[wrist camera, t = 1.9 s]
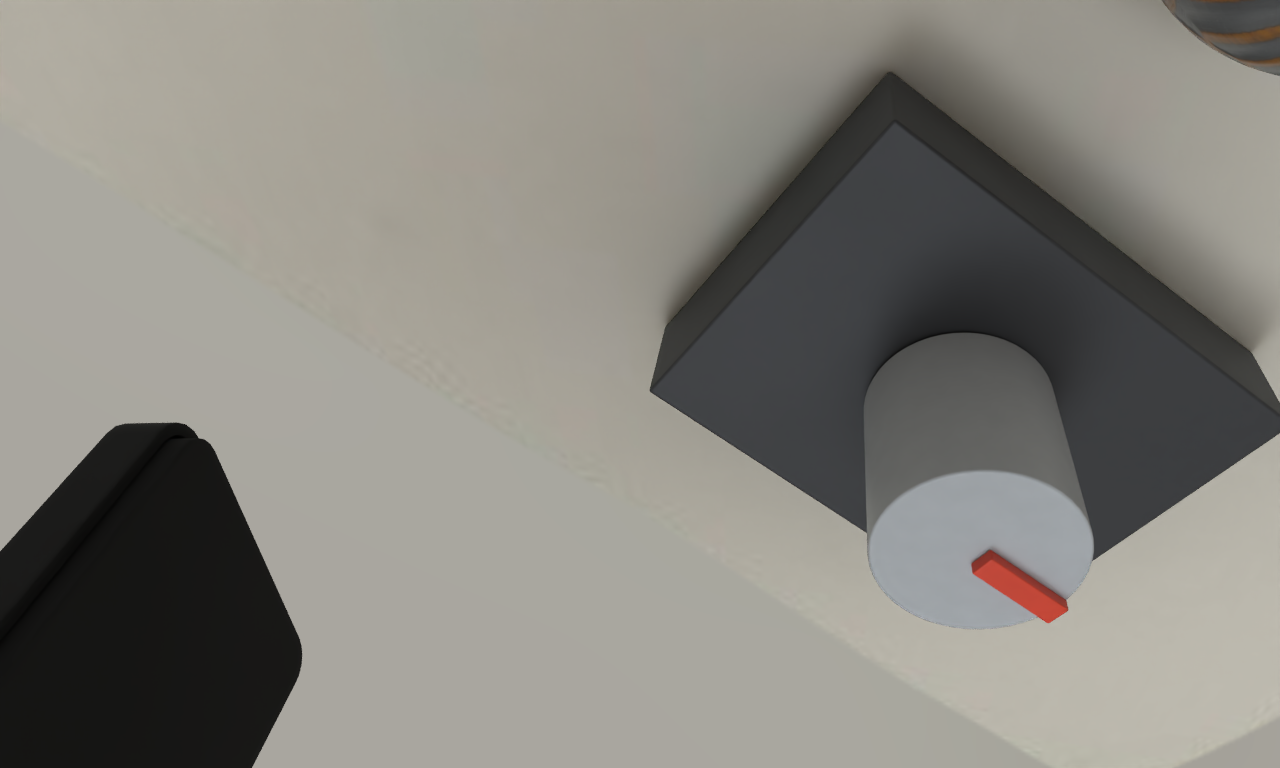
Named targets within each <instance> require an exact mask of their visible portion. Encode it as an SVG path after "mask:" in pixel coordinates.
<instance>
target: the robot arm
mask: <svg viewBox="0 0 1280 768" xmlns="http://www.w3.org/2000/svg"><path fill="white" fill-rule="evenodd" d="M301 664H302V648H301V643H300V639H299V637H298V634H297V632H296V630H295V628H294V626H293V624H292V621H291V619H290V617H289V615H288V612H287V610H286V608H285V606H284V603H283V602H282V599H281V597H280V594H279V592H278V590H277V588H276V586H275V584H274V581H273V579H272V577H271V575H270V572H269V570H268V568H267V566H266V564H265V561H264V559H263V557H262V555H261V553H260V550H259V548H258V546H257V544H256V541H255V540H254V537H253V535H252V533H251V530H250V528H249V526H248V524H247V522H246V519H245V517H244V515H243V513H242V510H241V508H240V506H239V504H238V502H237V499H236V497H235V495H234V493H233V490H232V488H231V486H230V484H229V482H228V479H227V477H226V475H225V473H224V471H223V469H222V466H221V464H220V462H219V460H218V457H217V455H216V453H215V451H214V449H213V448H212V446H211V444H209V443H208V442H207V441H206V440H204V439H199V438H198V437H197V435H196V433H195V432H194V431H193V430H192V429H191V428H190V427H188V426H187V425H185V424H181V423H139V424H138V423H136V424H122V425H119V426H116V427H114V428H113V429H112V430H110V431H109V432H108V433H107V434H106V435H105V436H104V437H103V438H102V439H101V440H100V441H99V443H98V444H97V445H96V446H95V447H94V448H93V449H92V450H91V451H90V453H89V454H88V455H87V456H86V457H85V458H84V459H83V460H82V462H81V463H80V464H79V465H78V466H77V467H76V468H75V469H74V470H73V471H72V473H71V474H70V475H69V476H68V477H67V478H66V479H65V480H64V481H63V482H62V484H61V485H60V486H59V487H58V488H57V489H56V490H55V492H54V493H53V494H52V495H51V496H50V497H49V498H48V499H47V500H46V502H44V504H43V505H42V506H41V507H40V508H39V509H38V510H37V511H36V512H35V514H34V515H33V516H32V517H31V518H30V519H29V520H28V522H26V524H25V525H24V526H23V527H22V528H21V529H20V530H19V531H18V532H17V534H16V535H15V536H14V537H13V538H12V539H11V540H10V541H9V543H7V545H6V546H5V547H4V548H3V549H2V550H1V551H0V768H252V766H253V764H254V763H255V760H256V759H257V757H258V755H259V752H260V751H261V749H262V747H263V745H264V743H265V741H266V739H267V737H268V735H269V733H270V731H271V729H272V728H273V725H274V724H275V722H276V720H277V718H278V716H279V714H280V712H281V710H282V708H283V706H284V704H285V702H286V700H287V698H288V696H289V694H290V692H291V691H292V689H293V686H294V685H295V683H296V681H297V678H298V676H299V672H300V668H301Z"/></svg>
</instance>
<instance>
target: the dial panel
mask: <svg viewBox="0 0 1280 768" xmlns="http://www.w3.org/2000/svg"><path fill="white" fill-rule="evenodd" d="M950 333H978V334H985V335H990V336H994V337H997V338H1000V339H1004V340H1006V341H1008V342H1010V343H1013V344H1015V345H1017V346H1018V347H1020V348H1021V349H1023V350H1025V351H1026V352H1028V353H1029V354H1030V355H1031V356H1032V357H1033V358H1035V359H1036V360H1037V362H1038V363H1039V364H1040V365H1041V366H1042V367H1043V369H1044V370H1045V372H1046V374H1047V375H1048V377H1049V379H1050V382H1051V384H1052V387H1053V391H1054V394H1055V398H1056V402H1057V405H1058V409H1059V413H1060V416H1061V420H1062V423H1063V427H1064V431H1065V434H1066V438H1067V442H1068V445H1069V449H1070V453H1071V456H1072V460H1073V463H1074V467H1075V471H1076V474H1077V478H1078V482H1079V485H1080V489H1081V493H1082V496H1083V500H1084V504H1085V507H1086V511H1087V514H1088V518H1089V522H1090V525H1091V529H1092V534H1093V538H1094V553H1093V559H1092V561H1093V560H1094V559H1096V558H1097V557H1099V556H1100V555H1102V554H1103V553H1105V552H1106V551H1108V550H1109V549H1111V548H1112V547H1113V546H1115V545H1116V544H1118V543H1119V542H1121V541H1122V540H1124V539H1125V538H1127V537H1128V536H1130V535H1131V534H1133V533H1134V532H1135V531H1137V530H1138V529H1140V528H1141V527H1143V526H1144V525H1146V524H1147V523H1149V522H1150V521H1152V520H1153V519H1155V518H1156V517H1157V516H1159V515H1160V514H1162V513H1163V512H1165V511H1166V510H1168V509H1169V508H1171V507H1172V506H1174V505H1175V504H1177V503H1178V502H1179V501H1181V500H1182V499H1184V498H1185V497H1187V496H1188V495H1190V494H1191V493H1193V492H1194V491H1196V490H1197V489H1199V488H1200V487H1201V486H1203V485H1204V484H1206V483H1207V482H1209V481H1210V480H1212V479H1213V478H1215V477H1216V476H1218V475H1219V474H1221V473H1222V472H1224V471H1225V470H1226V469H1228V468H1229V467H1231V466H1232V465H1234V464H1235V463H1237V462H1238V461H1240V460H1241V459H1243V458H1244V457H1246V456H1247V455H1248V454H1250V453H1251V452H1253V451H1254V450H1256V449H1257V448H1259V447H1260V446H1262V445H1263V444H1265V443H1266V442H1268V441H1269V440H1270V439H1272V438H1273V437H1275V436H1276V435H1278V434H1279V433H1280V403H1279V401H1278V399H1277V397H1276V395H1275V394H1274V392H1273V390H1272V388H1271V386H1270V385H1269V383H1268V381H1267V379H1266V378H1265V376H1264V374H1263V372H1262V370H1261V369H1260V367H1259V365H1258V363H1257V361H1256V360H1255V358H1254V356H1253V354H1252V353H1251V352H1249V351H1248V350H1247V349H1245V348H1244V347H1243V346H1242V345H1240V344H1239V343H1238V342H1236V341H1235V340H1234V339H1233V338H1231V337H1230V336H1229V335H1227V334H1226V333H1225V332H1224V331H1222V330H1221V329H1220V328H1219V327H1217V326H1216V325H1215V324H1213V323H1212V322H1211V321H1210V320H1208V319H1207V318H1206V317H1204V316H1203V315H1202V314H1201V313H1199V312H1198V311H1197V310H1195V309H1194V308H1193V307H1192V306H1190V305H1189V304H1188V303H1186V302H1185V301H1184V300H1183V299H1181V298H1180V297H1179V296H1178V295H1176V294H1175V293H1174V292H1172V291H1171V290H1170V289H1169V288H1167V287H1166V286H1165V285H1163V284H1162V283H1161V282H1160V281H1158V280H1157V279H1156V278H1154V277H1153V276H1152V275H1151V274H1149V273H1148V272H1147V271H1145V270H1144V269H1143V268H1142V267H1140V266H1139V265H1138V264H1137V263H1135V262H1134V261H1133V260H1131V259H1130V258H1129V257H1128V256H1126V255H1125V254H1124V253H1122V252H1121V251H1120V250H1119V249H1117V248H1116V247H1115V246H1113V245H1112V244H1111V243H1110V242H1108V241H1107V240H1106V239H1105V238H1103V237H1102V236H1101V235H1099V234H1098V233H1097V232H1096V231H1094V230H1093V229H1092V228H1090V227H1089V226H1088V225H1087V224H1085V223H1084V222H1083V221H1081V220H1080V219H1079V218H1078V217H1076V216H1075V215H1074V214H1072V213H1071V212H1070V211H1069V210H1067V209H1066V208H1065V207H1064V206H1062V205H1061V204H1060V203H1058V202H1057V201H1056V200H1055V199H1053V198H1052V197H1051V196H1049V195H1048V194H1047V193H1046V192H1044V191H1043V190H1042V189H1040V188H1039V187H1038V186H1037V185H1035V184H1034V183H1033V182H1031V181H1030V180H1029V179H1028V178H1026V177H1025V176H1024V175H1023V174H1021V173H1020V172H1019V171H1017V170H1016V169H1015V168H1014V167H1012V166H1011V165H1010V164H1008V163H1007V162H1006V161H1005V160H1003V159H1002V158H1001V157H999V156H998V155H997V154H996V153H994V152H993V151H992V150H990V149H989V148H988V147H987V146H985V145H984V144H983V143H982V142H980V141H979V140H978V139H976V138H975V137H974V136H973V135H971V134H970V133H969V132H967V131H966V130H965V129H964V128H962V127H961V126H960V125H958V124H957V123H956V122H955V121H953V120H952V119H951V118H949V117H948V116H947V115H946V114H944V113H943V112H942V111H941V110H939V109H938V108H937V107H935V106H934V105H933V104H932V103H930V102H929V101H928V100H926V99H925V98H924V97H923V96H921V95H920V94H919V93H917V92H916V91H915V90H914V89H912V88H911V87H910V86H908V85H907V84H906V83H905V82H903V81H902V80H901V79H900V78H898V77H897V76H896V75H894V74H893V73H891V72H889V73H887V74H886V76H885V77H884V78H883V79H882V80H881V81H880V82H879V84H878V85H877V86H876V87H875V88H874V89H873V90H872V92H871V93H870V94H869V95H868V96H867V97H866V98H865V100H864V101H863V102H862V103H861V104H860V105H859V106H858V108H857V109H856V110H855V111H854V112H853V113H852V114H851V116H850V117H849V118H848V119H847V120H846V121H845V123H844V124H843V125H842V126H841V127H840V128H839V129H838V131H837V132H836V133H835V134H834V135H833V136H832V137H831V139H830V140H829V141H828V142H827V143H826V144H825V145H824V147H823V148H822V149H821V150H820V151H819V152H818V153H817V155H816V156H815V157H814V158H813V159H812V160H811V161H810V163H809V164H808V165H807V166H806V167H805V168H804V169H803V171H802V172H801V173H800V174H799V175H798V176H797V178H796V179H795V180H794V181H793V182H792V183H791V184H790V186H789V187H788V188H787V189H786V190H785V191H784V192H783V194H782V195H781V196H780V197H779V198H778V199H777V200H776V202H775V203H774V204H773V205H772V206H771V207H770V208H769V210H768V211H767V212H766V213H765V214H764V215H763V216H762V218H761V219H760V220H759V221H758V222H757V223H756V224H755V226H754V227H753V228H752V229H751V230H750V231H749V233H748V234H747V235H746V236H745V237H744V238H743V239H742V241H741V242H740V243H739V244H738V245H737V246H736V247H735V249H734V250H733V251H732V252H731V253H730V254H729V255H728V257H727V258H726V259H725V260H724V261H723V262H722V263H721V265H720V266H719V267H718V268H717V269H716V270H715V271H714V273H713V274H712V275H711V276H710V277H709V278H708V279H707V281H706V282H705V283H704V284H703V285H702V286H701V288H700V289H699V290H698V291H697V292H696V293H695V294H694V296H693V297H692V298H691V299H690V300H689V301H688V302H687V304H686V305H685V306H684V307H683V308H682V309H681V310H680V312H679V313H678V314H677V315H676V316H675V317H674V318H673V320H672V321H671V322H670V323H669V324H668V325H667V326H666V328H665V330H664V334H663V338H662V343H661V347H660V351H659V355H658V359H657V363H656V367H655V371H654V375H653V379H652V383H651V387H650V392H651V393H653V394H654V395H656V396H657V397H659V398H660V399H662V400H664V401H665V402H667V403H668V404H670V405H671V406H673V407H674V408H676V409H677V410H679V411H680V412H682V413H684V414H685V415H687V416H688V417H690V418H691V419H693V420H694V421H696V422H697V423H699V424H700V425H702V426H703V427H705V428H707V429H708V430H710V431H711V432H713V433H714V434H716V435H717V436H719V437H720V438H722V439H723V440H725V441H727V442H728V443H730V444H731V445H733V446H734V447H736V448H737V449H739V450H740V451H742V452H743V453H745V454H746V455H748V456H750V457H751V458H753V459H754V460H756V461H757V462H759V463H760V464H762V465H763V466H765V467H766V468H768V469H770V470H771V471H773V472H774V473H776V474H777V475H779V476H780V477H782V478H783V479H785V480H786V481H788V482H790V483H791V484H793V485H794V486H796V487H797V488H799V489H800V490H802V491H803V492H805V493H806V494H808V495H809V496H811V497H813V498H814V499H816V500H817V501H819V502H820V503H822V504H823V505H825V506H826V507H828V508H829V509H831V510H833V511H834V512H836V513H837V514H839V515H840V516H842V517H843V518H845V519H846V520H848V521H849V522H851V523H852V524H854V525H856V526H857V527H859V528H860V529H862V530H863V531H865V532H866V533H867V513H866V478H865V443H864V402H865V396H866V393H867V390H868V387H869V386H870V384H871V382H872V380H873V378H874V377H875V375H876V374H877V372H878V371H879V370H880V368H881V367H882V366H883V365H884V364H885V363H886V362H887V361H888V360H889V359H890V358H892V357H893V356H894V355H895V354H897V353H898V352H900V351H901V350H903V349H904V348H906V347H908V346H910V345H912V344H914V343H916V342H918V341H921V340H924V339H927V338H930V337H934V336H938V335H942V334H950Z"/></svg>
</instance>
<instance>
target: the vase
mask: <svg viewBox="0 0 1280 768" xmlns="http://www.w3.org/2000/svg"><path fill="white" fill-rule="evenodd" d="M1162 1H1163V3H1164V4H1165V5H1166V6H1167V8H1168V9H1169V10H1170V12H1171V13H1172V14H1173V15H1174V16H1175V17H1176V18H1177V19H1178V20H1179V21H1180V22H1181V23H1182V24H1183V25H1184V26H1185V27H1186V28H1187V29H1188V30H1189V31H1190V32H1191V33H1192V34H1194V35H1195V36H1196V37H1197V38H1198V39H1199V40H1201V41H1202V42H1204V43H1205V44H1206V45H1208V46H1209V47H1211V48H1212V49H1214V50H1216V51H1218V52H1219V53H1221V54H1223V55H1225V56H1227V57H1228V58H1230V59H1232V60H1235V61H1237V62H1239V63H1241V64H1243V65H1246V66H1248V67H1251V68H1254V69H1257V70H1260V71H1263V72H1267V73H1271V74H1274V75H1278V76H1280V0H1162Z"/></svg>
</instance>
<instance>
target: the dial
mask: <svg viewBox="0 0 1280 768" xmlns="http://www.w3.org/2000/svg"><path fill="white" fill-rule="evenodd" d="M864 443H865V478H866V513H867V549H868V560H869V566H870V569H871V571H872V574H873V576H874V578H875V580H876V582H877V583H878V585H879V586H880V588H881V589H882V590H883V591H884V593H885V594H886V595H887V596H888V597H889V598H890V599H891V600H892V601H893V602H894V603H896V604H897V605H899V606H900V607H901V608H903V609H904V610H906V611H908V612H909V613H911V614H913V615H915V616H917V617H919V618H922V619H924V620H927V621H930V622H933V623H936V624H939V625H944V626H949V627H955V628H963V629H993V628H1000V627H1007V626H1011V625H1016V624H1020V623H1023V622H1026V621H1029V620H1032V619H1035V618H1037V617H1039V618H1040V619H1042V620H1044V621H1045V622H1047V623H1050V622H1051V621H1053V620H1055V619H1056V618H1058V617H1059V616H1061V615H1062V614H1064V613H1065V612H1067V611H1068V606H1067V602H1066V600H1067V599H1068V598H1069V597H1070V596H1071V595H1072V594H1073V593H1074V592H1075V591H1076V590H1077V589H1078V587H1079V586H1080V585H1081V583H1082V582H1083V580H1084V579H1085V577H1086V575H1087V573H1088V571H1089V568H1090V565H1091V563H1092V559H1093V553H1094V538H1093V534H1092V529H1091V525H1090V522H1089V518H1088V514H1087V511H1086V507H1085V504H1084V500H1083V496H1082V493H1081V489H1080V485H1079V482H1078V478H1077V474H1076V471H1075V467H1074V463H1073V460H1072V456H1071V453H1070V449H1069V445H1068V442H1067V438H1066V434H1065V431H1064V427H1063V423H1062V420H1061V416H1060V413H1059V409H1058V405H1057V402H1056V398H1055V394H1054V391H1053V387H1052V384H1051V382H1050V379H1049V377H1048V375H1047V374H1046V372H1045V370H1044V369H1043V367H1042V366H1041V365H1040V364H1039V363H1038V362H1037V360H1036V359H1035V358H1033V357H1032V356H1031V355H1030V354H1029V353H1028V352H1026V351H1025V350H1023V349H1021V348H1020V347H1018V346H1017V345H1015V344H1013V343H1010V342H1008V341H1006V340H1004V339H1000V338H997V337H994V336H990V335H985V334H978V333H950V334H942V335H938V336H934V337H930V338H927V339H924V340H921V341H918V342H916V343H914V344H912V345H910V346H908V347H906V348H904V349H903V350H901V351H900V352H898V353H897V354H895V355H894V356H893V357H892V358H890V359H889V360H888V361H887V362H886V363H885V364H884V365H883V366H882V367H881V368H880V370H879V371H878V372H877V374H876V375H875V377H874V378H873V380H872V382H871V384H870V386H869V387H868V390H867V393H866V396H865V402H864Z"/></svg>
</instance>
